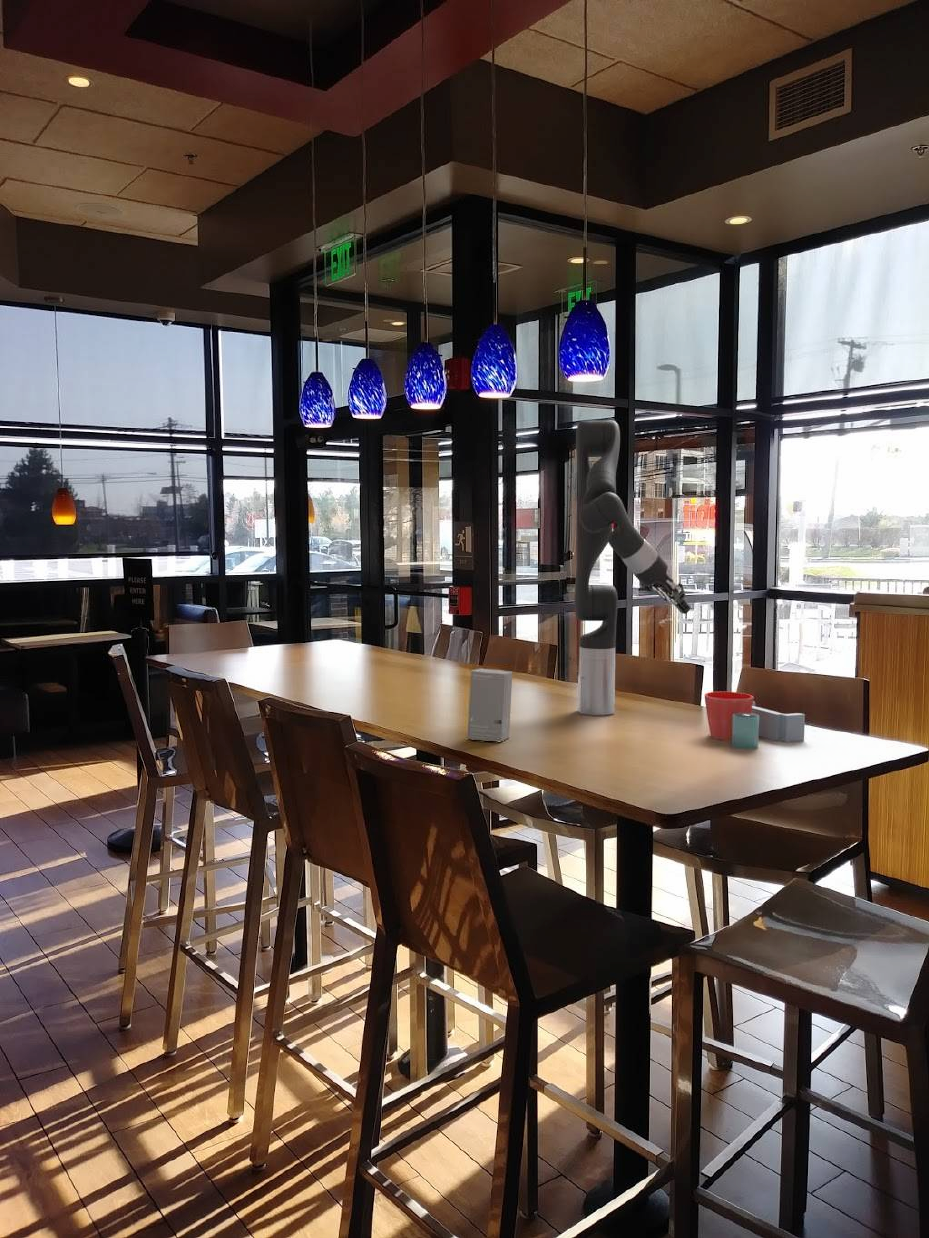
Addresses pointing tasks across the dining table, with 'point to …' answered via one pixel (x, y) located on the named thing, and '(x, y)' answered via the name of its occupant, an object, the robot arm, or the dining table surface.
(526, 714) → the dining table surface
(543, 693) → the dining table surface
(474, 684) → the skincare box
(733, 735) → the tumbler
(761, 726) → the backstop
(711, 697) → the flower pot
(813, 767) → the dining table surface
